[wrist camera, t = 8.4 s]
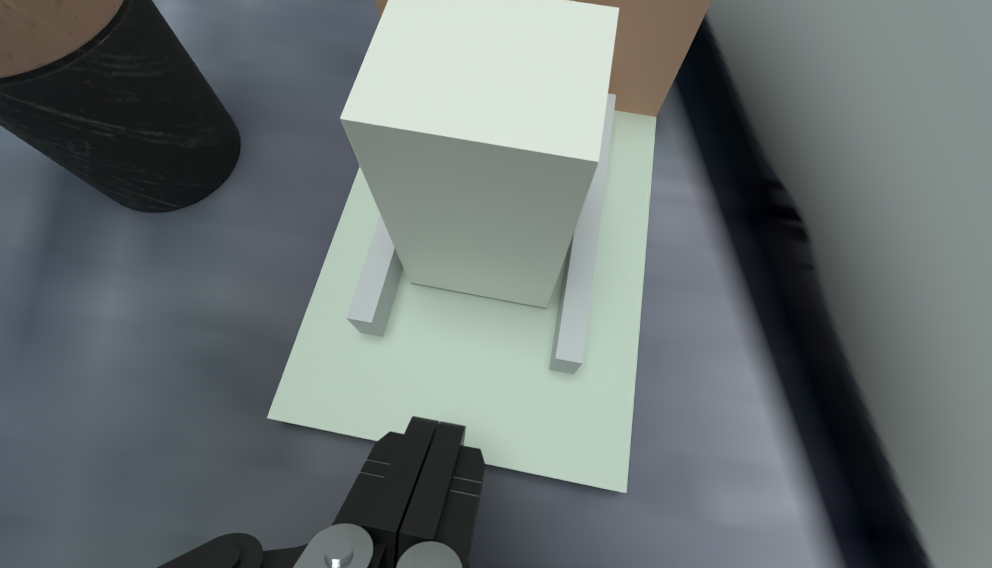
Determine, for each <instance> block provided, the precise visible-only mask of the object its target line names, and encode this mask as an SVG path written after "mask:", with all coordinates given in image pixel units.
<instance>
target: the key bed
mask: <svg viewBox="0 0 992 568" xmlns="http://www.w3.org/2000/svg"><path fill="white" fill-rule="evenodd" d="M375 1H376V5H377V9H378V13H379V17H380V19H381V17H382V14H383V12H384V9H385V7H386V4H387V2H388V0H375ZM569 1H576V2H582V3H589V4H596V5H603V6H610V7H617V8H619V13H618V21H617V28H616V36H615V43H614V51H613V58H612V66H611V73H610V81H609V88H608V96H607V103H606V111H605V118H604V126H603V133H602V141H601V148H600V156H599V162H598V165H597V168H596V171H595V174H594V177H593V179H592V182H591V185H590V188H589V191H588V193H587V196H586V199H585V202H584V205H583V208H582V210H581V213H580V216H579V219H578V222H577V224H576V227H575V230H574V233H573V236H572V239H571V241H570V244H569V247H568V250H567V253H566V255H565V258H564V261H563V264H562V267H561V270H560V272H559V275H558V278H557V281H556V284H555V287H554V289H553V292H552V295H551V298H550V301H549V303H548V306H547V308H543V307H538V306H532V305H527V304H521V303H516V302H511V301H505V300H500V299H495V298H489V297H484V296H479V295H473V294H468V293H463V292H457V291H452V290H447V289H441V288H436V287H431V286H425V285H420V284H415V283H410V282H409V280H408V278H407V275H406V273H405V271H404V268H403V266H402V264H401V261H400V259H399V257H398V254H397V252H396V249H395V247H394V245H393V242H392V240H391V238H390V235H389V233H388V231H387V228H386V226H385V224H384V221H383V219H382V217H381V214H380V212H379V210H378V207H377V205H376V202H375V200H374V198H373V195H372V193H371V191H370V188H369V186H368V184H367V181H366V179H365V177H364V174H363V172H362V170H361V167H359V170H358V173H357V175H356V178H355V181H354V183H353V186H352V189H351V192H350V194H349V197H348V200H347V202H346V205H345V208H344V210H343V213H342V216H341V219H340V221H339V224H338V227H337V229H336V232H335V235H334V238H333V240H332V243H331V246H330V248H329V251H328V254H327V257H326V259H325V262H324V265H323V267H322V270H321V273H320V276H319V278H318V281H317V284H316V286H315V289H314V292H313V295H312V297H311V300H310V303H309V305H308V308H307V311H306V313H305V316H304V319H303V322H302V324H301V327H300V330H299V332H298V335H297V338H296V341H295V343H294V346H293V349H292V351H291V354H290V357H289V360H288V362H287V365H286V368H285V370H284V373H283V376H282V379H281V381H280V384H279V387H278V389H277V392H276V395H275V398H274V400H273V403H272V406H271V408H270V411H269V414H268V416H267V418H269V419H273V420H278V421H282V422H287V423H291V424H296V425H301V426H306V427H310V428H315V429H320V430H325V431H330V432H334V433H339V434H344V435H349V436H353V437H358V438H363V439H368V440H373V441H378V440H380V439H381V438H382V437H383V436H385V435H386V434H387V433H388V432H389V431H391V432H396V433H402V434H404V433H405V431H406V429H407V426H408V424H409V422H410V420H411V418H412V417H413V416H417V417H422V418H427V419H432V420H437V421H439V423H440V421H443V422H448V423H453V424H459V425H464V426H466V432H465V440H464V446H468V447H473V448H478V449H481V452H482V455H483V459H484V462H485V464H487V465H492V466H497V467H502V468H506V469H511V470H516V471H521V472H526V473H530V474H535V475H540V476H545V477H549V478H554V479H559V480H564V481H569V482H573V483H578V484H583V485H588V486H592V487H597V488H602V489H607V490H612V491H616V492H622V493H626V492H627V480H628V467H629V455H630V442H631V429H632V417H633V404H634V392H635V379H636V367H637V354H638V342H639V329H640V316H641V304H642V291H643V279H644V266H645V254H646V241H647V229H648V216H649V204H650V191H651V178H652V166H653V153H654V141H655V128H656V117H657V115H658V113H659V110H660V108H661V106H662V104H663V102H664V100H665V98H666V96H667V94H668V91H669V89H670V87H671V85H672V83H673V81H674V79H675V77H676V75H677V72H678V70H679V68H680V66H681V64H682V62H683V60H684V58H685V56H686V53H687V51H688V49H689V47H690V45H691V43H692V41H693V39H694V36H695V34H696V32H697V30H698V28H699V26H700V24H701V22H702V20H703V17H704V15H705V13H706V11H707V9H708V7H709V5H710V3H711V1H712V0H569Z"/></svg>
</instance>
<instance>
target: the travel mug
mask: <svg viewBox="0 0 992 568" xmlns="http://www.w3.org/2000/svg"><path fill="white" fill-rule="evenodd" d="M0 125H1V126H2V127H4V128H5V129H7V130H8V131H10V132H11V133H13V134H14V135H16V136H17V137H19V138H20V139H22V140H23V141H25V142H26V143H28V144H29V145H31V146H32V147H34V148H35V149H37V150H38V151H40V152H41V153H43V154H44V155H46V156H47V157H49V158H50V159H52V160H53V161H55V162H56V163H58V164H59V165H61V166H62V167H64V168H65V169H67V170H68V171H70V172H71V173H73V174H74V175H76V176H77V177H79V178H80V179H82V180H83V181H85V182H86V183H88V184H89V185H91V186H93V187H94V188H96V189H97V190H99V191H100V192H102V193H103V194H105V195H106V196H108V197H110V198H111V199H113V200H115V201H116V202H118V203H120V204H122V205H124V206H126V207H129V208H132V209H136V210H140V211H147V212H161V211H169V210H174V209H178V208H181V207H184V206H187V205H190V204H192V203H194V202H196V201H198V200H200V199H202V198H204V197H205V196H207V195H208V194H210V193H211V192H212V191H214V190H215V189H216V188H217V187H218V186H219V185H220V184H221V183H222V182H223V181H224V180H225V179H226V178H227V176H228V175H229V174H230V172H231V171H232V169H233V167H234V165H235V163H236V161H237V158H238V154H239V148H240V140H239V135H238V131H237V128H236V126H235V124H234V122H233V120H232V119H231V117H230V115H229V114H228V112H227V111H226V109H225V108H224V106H223V105H222V103H221V102H220V100H219V99H218V97H217V96H216V94H215V93H214V91H213V90H212V88H211V87H210V85H209V84H208V82H207V81H206V80H205V78H204V77H203V75H202V74H201V72H200V71H199V69H198V68H197V66H196V65H195V63H194V62H193V60H192V59H191V57H190V56H189V54H188V53H187V52H186V50H185V49H184V47H183V46H182V44H181V43H180V41H179V40H178V38H177V37H176V35H175V34H174V32H173V31H172V29H171V28H170V26H169V25H168V23H167V22H166V21H165V19H164V18H163V16H162V15H161V13H160V12H159V10H158V9H157V7H156V6H155V4H154V3H153V1H152V0H0Z"/></svg>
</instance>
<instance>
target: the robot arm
mask: <svg viewBox="0 0 992 568" xmlns="http://www.w3.org/2000/svg"><path fill="white" fill-rule="evenodd" d="M465 432H466V426H464V425H459V424H453V423H448V422H443V421H440V423H439V421H437V420H432V419H427V418H422V417H417V416H413V417H412V418H411V420H410V422H409V424H408V426H407V429H406V431H405V433H404V434H402V433H396V432H391V431H389V432H388V433H387V434H386V435H385V436H383V437H382V438H381V439H380V440H378V441H377V442H376V443H375V445H374V447H373V449H372V450H371V452H370V454H369V456H368V458H367V461H366V462H365V464H364V466H363V468H362V469H361V473H360V474H359V475H358V477H357V479H356V481H355V483H354V485H353V486H352V488H351V490H350V492H349V494H348V496H347V498H346V500H345V502H344V504H343V505H342V507H341V509H340V511H339V513H338V515H337V517H336V519H335V521H334V522H333V524H332V525H331V526H330V527H328V528H326V529H324V530H322V531H321V532H319V533H318V534H317V535H316V536H315V537H314V538H313V539H312V540H311V541H310V543H308V544H306V545H303V546H299V547H295V548H288V549H278V550H269V551H263V548H262V546H261V544H260V542H259V541H258V540H257V539H256V538H255V537H253V536H251V535H248V534H244V533H232V534H226V535H223V536H220V537H217V538H215V539H213V540H211V541H209V542H207V543H205V544H203V545H201V546H199V547H197V548H195V549H193V550H191V551H189V552H187V553H185V554H183V555H181V556H179V557H177V558H175V559H173V560H171V561H169V562H167V563H165V564H163V565H161V566H160V567H158V568H470V565H469V560H468V558H469V552H470V547H471V542H472V537H473V532H474V527H475V521H476V516H477V511H478V506H479V500H480V494H481V488H482V482H483V476H484V469H485V462H484V459H483V455H482V452H481V449H478V448H473V447H468V446H464V440H465Z"/></svg>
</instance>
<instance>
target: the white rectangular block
mask: <svg viewBox="0 0 992 568" xmlns="http://www.w3.org/2000/svg"><path fill="white" fill-rule="evenodd" d="M618 13H619V8H617V7H610V6H603V5H596V4H589V3H582V2H576V1H569V0H388V2H387V4H386V7H385V9H384V12H383V14H382V17H381V19H380V22H379V24H378V27H377V29H376V31H375V34H374V36H373V39H372V41H371V44H370V46H369V49H368V51H367V53H366V56H365V58H364V61H363V63H362V66H361V68H360V71H359V73H358V76H357V78H356V80H355V83H354V85H353V88H352V90H351V93H350V95H349V98H348V100H347V103H346V105H345V107H344V110H343V112H342V115H341V117H340V120H341V123H342V125H343V127H344V130H345V132H346V134H347V137H348V139H349V141H350V144H351V146H352V148H353V151H354V153H355V155H356V158H357V160H358V163H359V165H360V167H361V170H362V172H363V174H364V177H365V179H366V181H367V184H368V186H369V188H370V191H371V193H372V195H373V198H374V200H375V202H376V205H377V207H378V210H379V212H380V214H381V217H382V219H383V221H384V224H385V226H386V228H387V231H388V233H389V235H390V238H391V240H392V242H393V245H394V247H395V249H396V252H397V254H398V257H399V259H400V261H401V264H402V266H403V268H404V271H405V273H406V275H407V278H408V280H409V282H410V283H415V284H420V285H425V286H431V287H436V288H441V289H447V290H452V291H457V292H463V293H468V294H473V295H479V296H484V297H489V298H495V299H500V300H505V301H511V302H516V303H521V304H527V305H532V306H538V307H543V308H547V306H548V303H549V301H550V298H551V295H552V292H553V289H554V287H555V284H556V281H557V278H558V275H559V272H560V270H561V267H562V264H563V261H564V258H565V255H566V253H567V250H568V247H569V244H570V241H571V239H572V236H573V233H574V230H575V227H576V224H577V222H578V219H579V216H580V213H581V210H582V208H583V205H584V202H585V199H586V196H587V193H588V191H589V188H590V185H591V182H592V179H593V177H594V174H595V171H596V168H597V165H598V162H599V156H600V148H601V141H602V133H603V126H604V118H605V111H606V103H607V96H608V88H609V81H610V73H611V66H612V58H613V51H614V43H615V36H616V28H617V21H618Z"/></svg>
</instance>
